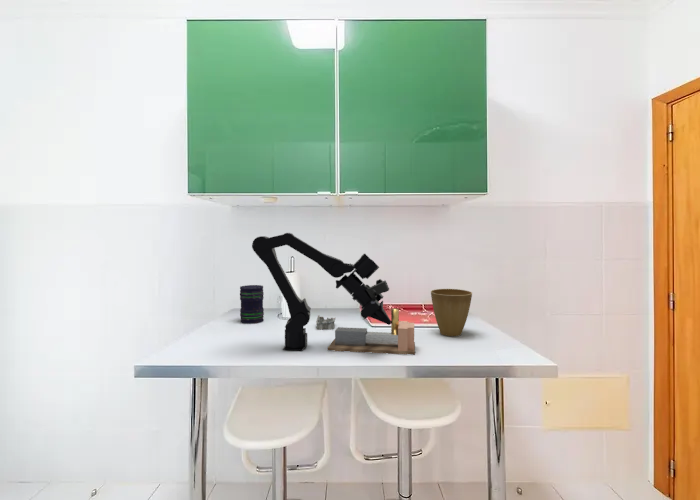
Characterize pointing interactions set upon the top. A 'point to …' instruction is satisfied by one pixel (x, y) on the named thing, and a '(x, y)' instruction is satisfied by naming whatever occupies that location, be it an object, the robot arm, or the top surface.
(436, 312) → the plant pot
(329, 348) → the walnut board
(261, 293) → the storage jar
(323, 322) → the grey castle model
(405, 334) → the terracotta socket
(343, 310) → the top surface
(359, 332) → the grey rectangular block
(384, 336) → the sliding bolt with handle
